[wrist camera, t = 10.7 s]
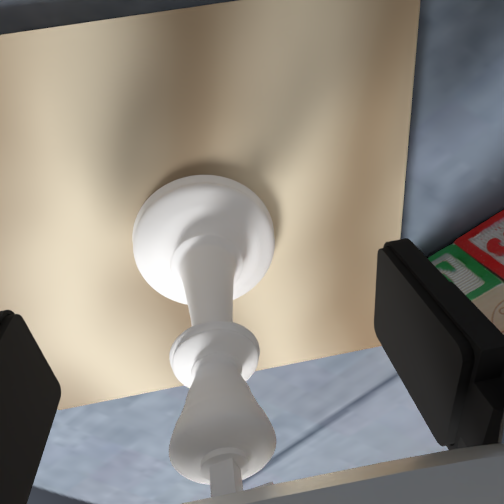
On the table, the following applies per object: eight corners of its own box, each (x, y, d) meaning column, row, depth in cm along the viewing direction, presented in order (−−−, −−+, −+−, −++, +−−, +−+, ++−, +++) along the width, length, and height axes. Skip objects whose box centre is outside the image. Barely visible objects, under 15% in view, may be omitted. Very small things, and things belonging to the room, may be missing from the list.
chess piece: (289, 269, 15) (417, 587, 7) (170, 313, 16) (155, 671, 7) (246, 151, 13) (367, 431, 4) (104, 206, 13) (-39, 570, 5)
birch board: (405, -25, 12) (422, -26, 11) (381, 329, 19) (391, 343, 18) (-125, 53, 11) (-151, 56, 10) (64, 391, 18) (58, 410, 18)
